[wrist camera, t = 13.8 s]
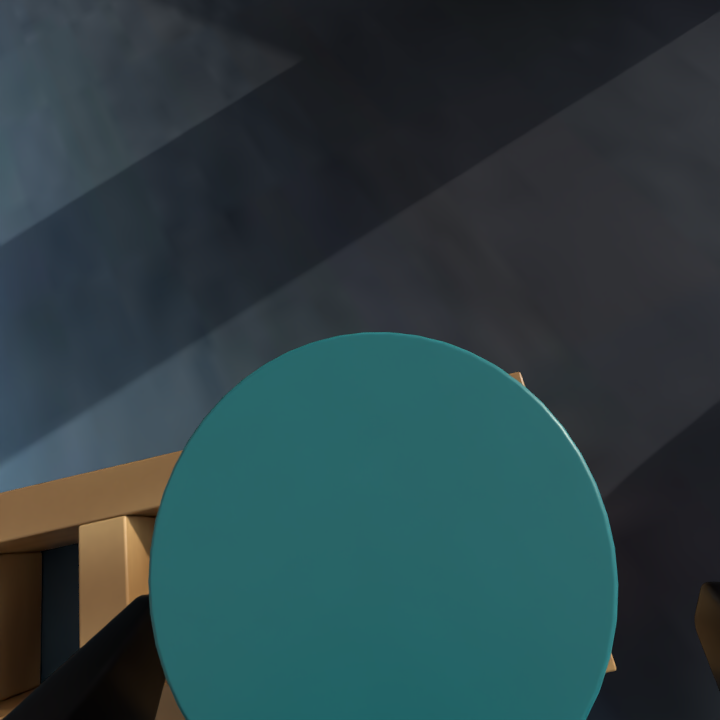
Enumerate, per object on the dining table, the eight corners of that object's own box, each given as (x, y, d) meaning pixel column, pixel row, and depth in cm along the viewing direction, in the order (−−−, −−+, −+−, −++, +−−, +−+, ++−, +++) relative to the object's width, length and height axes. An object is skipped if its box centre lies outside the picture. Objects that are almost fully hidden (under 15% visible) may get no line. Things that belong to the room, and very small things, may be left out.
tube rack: (574, 635, 15) (618, 671, 11) (0, 744, 16) (-133, 808, 13) (503, 405, 17) (521, 370, 13) (8, 518, 19) (-101, 515, 15)
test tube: (407, 619, 16) (267, 968, 3) (349, 513, 17) (86, 470, 4) (507, 556, 16) (742, 656, 3) (441, 455, 17) (435, 257, 5)
